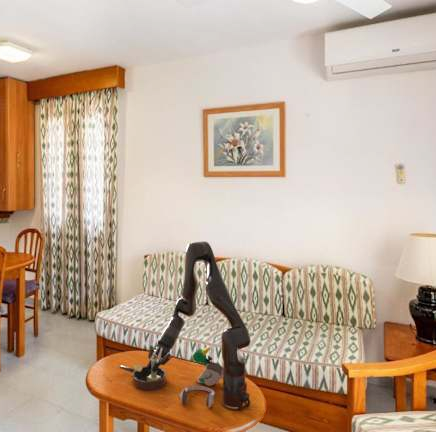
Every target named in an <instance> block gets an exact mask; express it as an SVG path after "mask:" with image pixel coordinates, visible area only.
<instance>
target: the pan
mask: <svg viewBox="0 0 436 432" xmlns="http://www.w3.org/2000/svg"><path fill="white" fill-rule="evenodd" d="M149 375H151V369H150V370H149V369H147V365H146V366H142V371H141V372H137V371H134V372H133V373H132V385H133V386H134V388H136V389H137V390H141V391H145V392H148V391H149V392H150V391H157V390H160V389H162V388H163V387H164V386H165V385H166V381H167V379H166V378H167V376H166V375H167V374H166V371H165V369H163V368H161V367H160V366H159V367H158V369H157V375H158V376H161V379H159V380H157V381H150V382H147V377H148V376H149Z"/></svg>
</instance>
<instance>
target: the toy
mask: <svg viewBox="0 0 436 432" xmlns="http://www.w3.org/2000/svg"><path fill="white" fill-rule="evenodd" d="M210 350H211V346H208V347H205V348H204V349H201V348H197V349H196V350H195V352H193V354H192V359H193V361H194V362H195V363H199V364H201V363H202V365H203V366H204V367H205V368H204V370H203V371H202V372H201V374H200V375H199V376H198V378H197V380H198V381H197V383H198V384H204V385H206V386H207V387H210V386H213V385H216V384H218V385H219V386H220V387H221V388H222V389H223V383H221V382H219V381H220V380H221V379H223V366H222V365H221V364H220V363H218V362H213V361H212V360H213V358H212V357H211V356H210V355H208V356H206V355H207V354H208V353H209V352H210Z"/></svg>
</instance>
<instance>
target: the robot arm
mask: <svg viewBox="0 0 436 432" xmlns="http://www.w3.org/2000/svg"><path fill="white" fill-rule="evenodd" d="M216 260H217V259H216V257H215V254H214V251H213V248H212V245H210V243H209V242H208V241H194V242H189V243H188V244H187V246H186V249H185V263H184V266H185V267H184V279H183V285H182V289H181V297H180V298H178V299H177V300H176V302H175V305H174V309H173V313H172V316H171V318H170V320H169V321H168V323H167V325H166V326H165V328H164V329H163V331H162V333H161V335H160V337H159V338H158V340H157V343H156V344H155V345H150V346H149V350H148V355H147V357H148V359H149V361H148V363H147V365H146V366H147V369H149V370H150V369H151V360H152V359H156V360H157V361H156V363H155V364H154V366H153V368H152V371H153V372H155V371H157V369H158V367H159V368H160V366H165V365H166V364H167V363H168V362H169V361H170V360H171V359H173V355H172V354H171V350H172V349H173V347H174V345H175V344H176V342H177V340H178V338H179V336H180V333H181V332H182V330H183V328H184V326H185V324H186V321H185V319H184V318H183V317H182V316H180V314H181V315H184V316H186V317H189V318H191V317H193V316H195V314H196V311H197V291H198V287H199V281H198V277H197V274H196V272H195V267H196V263H199V262H200V263H201V262H203V263H204V267H205V269H206V278H205V287H204V288H205V292H206V295H207V297H208V300H209V301H210V303H211V305H212V306H213V307H214V308H215V309H216V310H217V311H218V312H220V313H221V315H223V316H224V317H225V319H226V320H227V321H228V323H229V326H230V327H228V328H225V329H224V330H223V331H222V332H221V337H220V338H221V340H220V341H221V357H222V361H223V363H222V364H223V366H222V367H223V376H222V377H223V378H222V385H223V388H222V399H221V400H222V402H221V404H222V406H224V407H225V408H226V409H228V410H231V411H232V410H234V411H242V409H243V408H244V407H245V406H246V408H249V407H250V405H251V399H250V393H249V392H247V391H248V390H247V388H248V383H247V382H246V366H247V365H246V364H247V363H246V361H247V360H246V358H245V356H242V355H241V354H239V353H238V351H239V350H242V349H245V348H247V347H249V346H250V345H251V335H250V332H249V329H248V328H247V326H246V324H245V322H244V320H243V319H242V316H241V314H240V313H239V311H238V309H237V307H236V305H235V303H234V301H233V298H232V296H231V294H230V291H229V289H228V287H227V285H226V282H225V280H224V278H223V276H222V273H221V271H220V269H219V266H218V264H217V261H216Z"/></svg>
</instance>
